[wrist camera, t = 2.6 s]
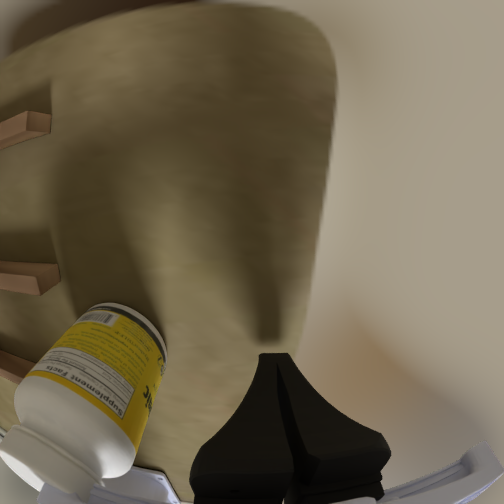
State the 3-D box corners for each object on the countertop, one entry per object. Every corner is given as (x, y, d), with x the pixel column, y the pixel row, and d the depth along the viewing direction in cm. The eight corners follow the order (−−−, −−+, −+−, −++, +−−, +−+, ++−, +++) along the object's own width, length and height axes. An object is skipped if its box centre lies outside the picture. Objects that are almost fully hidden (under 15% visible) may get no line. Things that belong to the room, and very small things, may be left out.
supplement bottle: (143, 392, 14) (93, 524, 5) (72, 339, 13) (-15, 450, 4) (189, 344, 13) (139, 524, 4) (105, 278, 12) (-29, 410, 3)
